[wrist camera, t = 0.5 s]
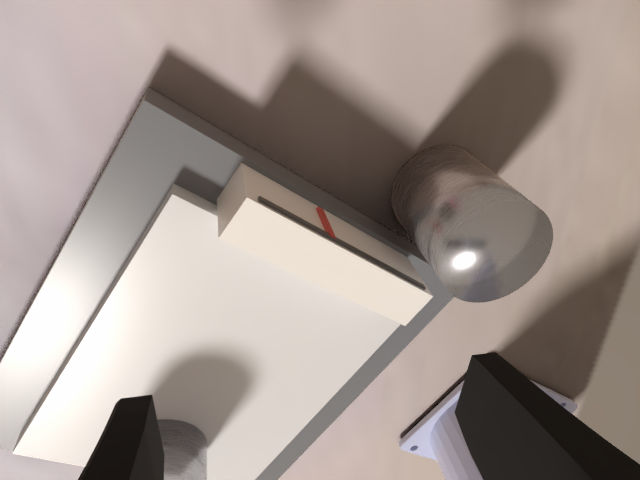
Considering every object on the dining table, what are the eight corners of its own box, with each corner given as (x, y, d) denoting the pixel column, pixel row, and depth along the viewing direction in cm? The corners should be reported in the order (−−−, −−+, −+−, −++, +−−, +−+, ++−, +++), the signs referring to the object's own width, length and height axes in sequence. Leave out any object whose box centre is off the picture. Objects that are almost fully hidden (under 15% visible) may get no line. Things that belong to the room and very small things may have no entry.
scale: (450, 265, 22) (495, 324, 19) (257, 472, 28) (264, 546, 24) (148, 87, 15) (132, 128, 12) (-28, 411, 21) (-73, 501, 17)
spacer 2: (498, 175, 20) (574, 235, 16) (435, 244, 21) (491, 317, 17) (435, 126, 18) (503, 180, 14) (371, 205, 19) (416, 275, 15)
